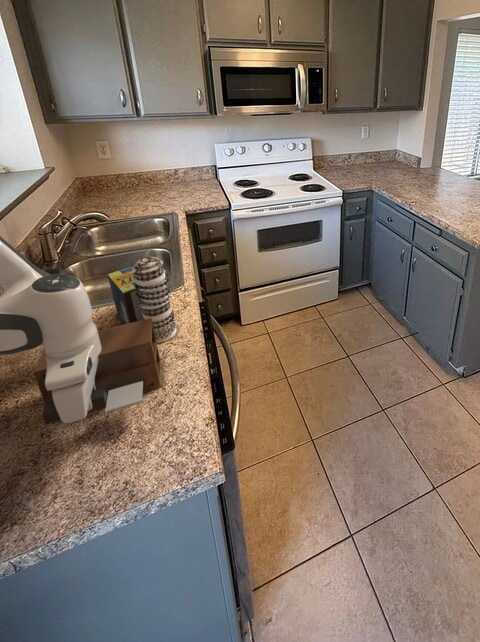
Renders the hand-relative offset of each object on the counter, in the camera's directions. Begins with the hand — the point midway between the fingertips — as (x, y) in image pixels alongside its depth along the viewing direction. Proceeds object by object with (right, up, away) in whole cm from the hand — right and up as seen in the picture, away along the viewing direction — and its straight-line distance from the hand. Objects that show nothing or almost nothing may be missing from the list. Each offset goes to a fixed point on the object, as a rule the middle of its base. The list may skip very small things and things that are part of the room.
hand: (89, 401), depth 77 cm
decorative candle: (+1, +3, +32) cm, 32 cm away
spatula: (0, -2, +1) cm, 2 cm away
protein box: (-9, +6, +40) cm, 41 cm away
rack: (-3, -4, +13) cm, 14 cm away
